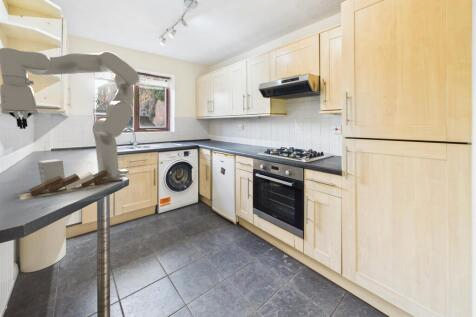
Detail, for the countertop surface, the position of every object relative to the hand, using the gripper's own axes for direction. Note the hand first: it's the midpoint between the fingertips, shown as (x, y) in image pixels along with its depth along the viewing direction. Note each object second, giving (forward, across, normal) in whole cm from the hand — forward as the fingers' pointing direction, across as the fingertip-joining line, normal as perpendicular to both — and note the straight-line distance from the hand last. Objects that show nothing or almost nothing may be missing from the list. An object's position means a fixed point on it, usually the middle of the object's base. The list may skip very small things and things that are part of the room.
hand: (22, 128), depth 92 cm
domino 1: (+25, -5, +10) cm, 27 cm away
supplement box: (+27, -8, -3) cm, 28 cm away
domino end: (+25, +1, +10) cm, 27 cm away
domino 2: (+25, -10, +10) cm, 29 cm away
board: (+27, -9, +10) cm, 30 cm away
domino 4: (+25, -22, +10) cm, 35 cm away
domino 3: (+25, -16, +10) cm, 31 cm away
